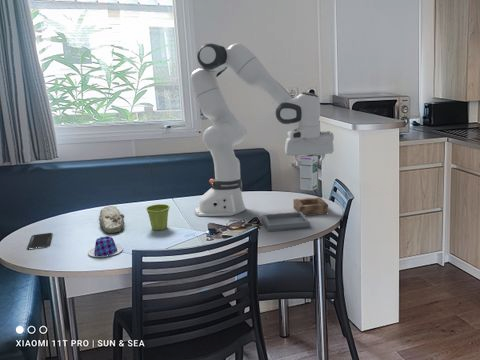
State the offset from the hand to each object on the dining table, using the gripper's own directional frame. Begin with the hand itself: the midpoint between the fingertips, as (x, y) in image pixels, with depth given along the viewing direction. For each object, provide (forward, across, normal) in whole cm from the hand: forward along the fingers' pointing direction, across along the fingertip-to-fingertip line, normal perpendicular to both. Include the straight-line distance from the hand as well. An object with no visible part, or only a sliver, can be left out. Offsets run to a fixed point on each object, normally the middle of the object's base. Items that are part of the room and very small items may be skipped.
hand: (309, 164), depth 205 cm
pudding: (+22, +81, +29) cm, 89 cm away
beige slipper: (+22, +84, -7) cm, 87 cm away
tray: (+20, +13, +15) cm, 29 cm away
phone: (+22, +108, +12) cm, 111 cm away
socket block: (+20, -1, 0) cm, 20 cm away
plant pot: (+21, +63, +7) cm, 67 cm away
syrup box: (+11, 0, 0) cm, 11 cm away
